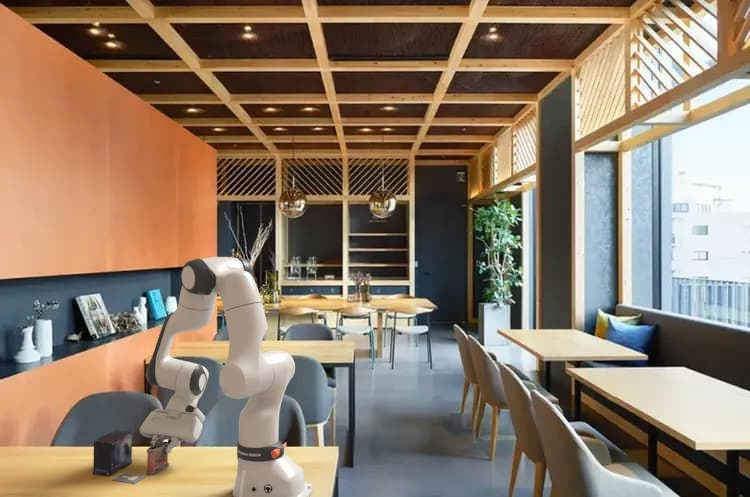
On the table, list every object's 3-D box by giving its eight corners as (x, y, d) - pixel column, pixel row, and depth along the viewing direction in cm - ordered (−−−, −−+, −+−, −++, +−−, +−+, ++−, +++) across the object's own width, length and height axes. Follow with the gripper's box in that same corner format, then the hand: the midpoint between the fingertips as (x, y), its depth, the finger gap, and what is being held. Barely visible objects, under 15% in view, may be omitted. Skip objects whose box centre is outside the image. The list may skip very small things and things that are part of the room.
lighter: (152, 476, 163) (153, 443, 163) (143, 474, 164) (144, 441, 164) (171, 465, 171) (171, 434, 171) (162, 464, 172) (162, 433, 172)
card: (146, 476, 162) (146, 475, 162) (134, 483, 158) (134, 482, 158) (124, 473, 165) (124, 472, 165) (112, 480, 160) (112, 479, 160)
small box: (110, 476, 162) (111, 442, 162) (91, 475, 164) (92, 440, 164) (133, 463, 173) (133, 430, 173) (115, 461, 174) (115, 429, 174)
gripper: (148, 403, 178) (126, 443, 169) (202, 409, 173) (183, 450, 163) (157, 413, 183) (136, 452, 173) (209, 418, 177) (191, 459, 168)
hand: (159, 451), depth 168 cm, fingers closed on lighter, 3 cm apart
